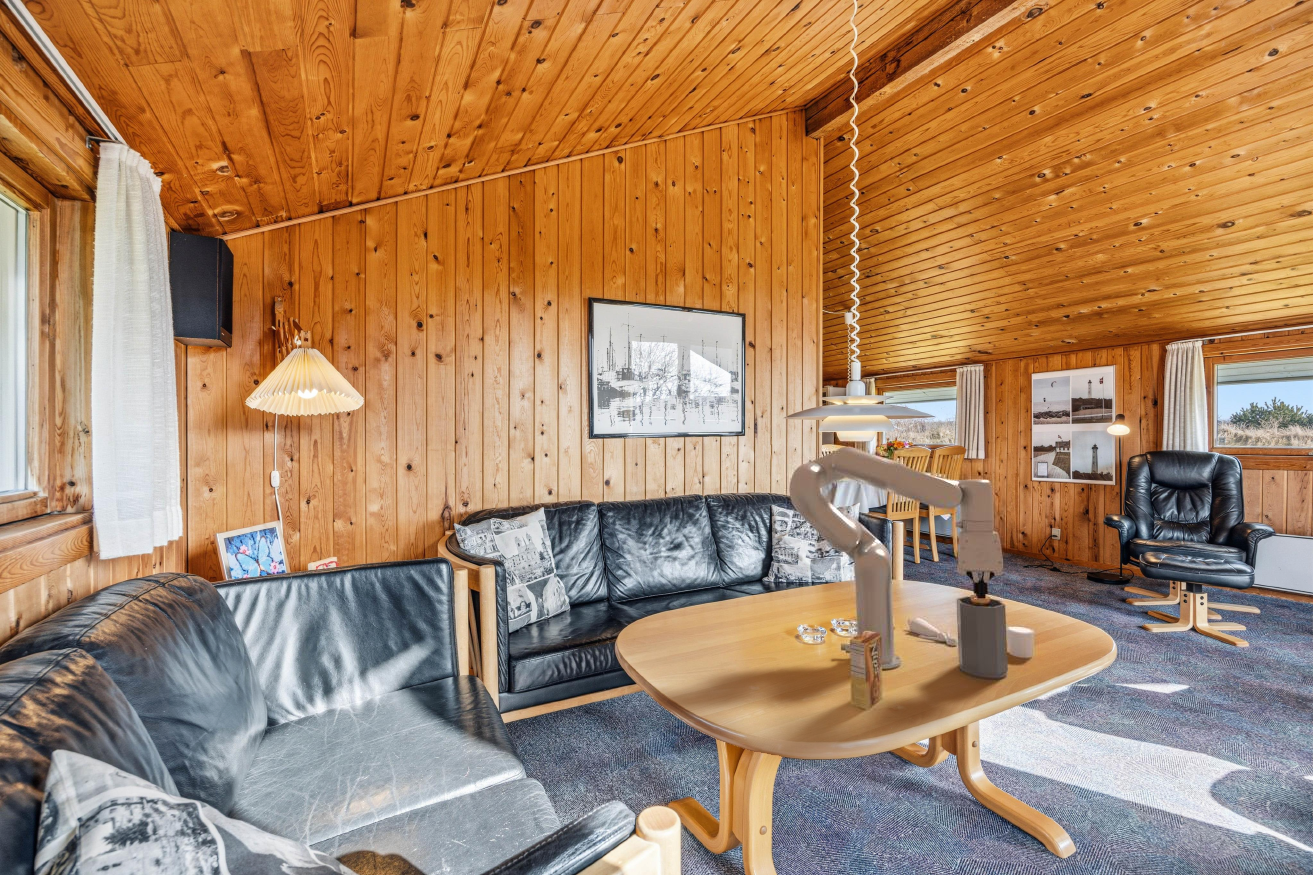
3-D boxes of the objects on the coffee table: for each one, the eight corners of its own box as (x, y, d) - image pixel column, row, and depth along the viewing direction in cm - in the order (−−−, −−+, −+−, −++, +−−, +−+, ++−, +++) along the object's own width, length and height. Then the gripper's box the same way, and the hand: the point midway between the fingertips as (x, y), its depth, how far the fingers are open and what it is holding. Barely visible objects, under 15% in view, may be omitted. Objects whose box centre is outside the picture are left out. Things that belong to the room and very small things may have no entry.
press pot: (964, 677, 149) (962, 606, 149) (953, 657, 163) (950, 592, 163) (1012, 680, 146) (1009, 608, 146) (996, 660, 160) (994, 594, 160)
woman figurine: (925, 613, 190) (971, 633, 173) (925, 626, 190) (971, 647, 173) (896, 617, 186) (940, 638, 169) (896, 631, 187) (940, 653, 170)
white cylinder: (1021, 660, 159) (1020, 634, 159) (1000, 651, 166) (999, 626, 166) (1041, 656, 161) (1040, 631, 161) (1020, 648, 168) (1019, 624, 168)
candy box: (866, 693, 142) (864, 629, 142) (884, 697, 139) (881, 632, 139) (850, 705, 135) (848, 639, 136) (868, 710, 132) (866, 642, 133)
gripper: (949, 528, 152) (952, 599, 151) (1014, 528, 148) (1017, 601, 147) (943, 524, 159) (946, 592, 159) (1005, 524, 155) (1008, 594, 154)
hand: (980, 596), depth 153 cm, fingers closed
